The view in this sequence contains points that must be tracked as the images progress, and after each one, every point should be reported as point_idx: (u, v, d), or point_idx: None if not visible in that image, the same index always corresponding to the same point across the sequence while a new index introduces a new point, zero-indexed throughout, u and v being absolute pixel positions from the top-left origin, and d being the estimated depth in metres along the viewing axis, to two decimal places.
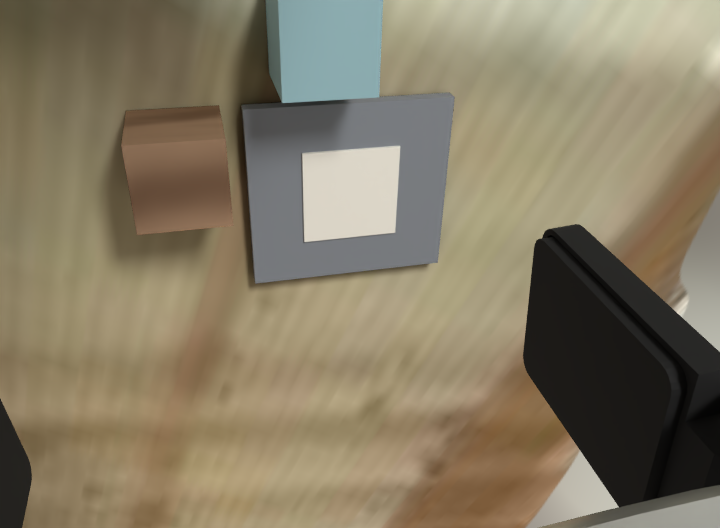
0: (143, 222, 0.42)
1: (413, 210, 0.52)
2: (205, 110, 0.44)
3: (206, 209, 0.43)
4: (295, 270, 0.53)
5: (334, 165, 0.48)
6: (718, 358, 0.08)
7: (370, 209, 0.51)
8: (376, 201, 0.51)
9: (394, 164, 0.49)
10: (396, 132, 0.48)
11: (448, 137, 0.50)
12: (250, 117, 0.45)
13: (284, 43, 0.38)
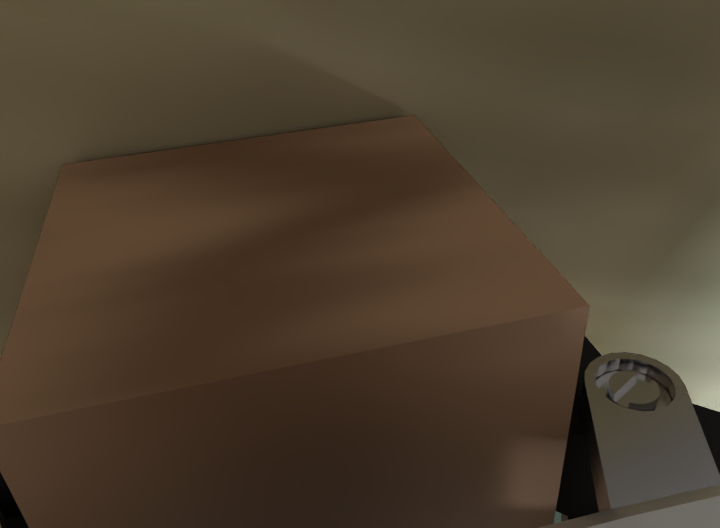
0: (91, 447, 0.06)
1: None
2: None
3: None
4: None
5: None
6: None
7: None
8: None
9: None
10: None
11: None
12: None
13: None
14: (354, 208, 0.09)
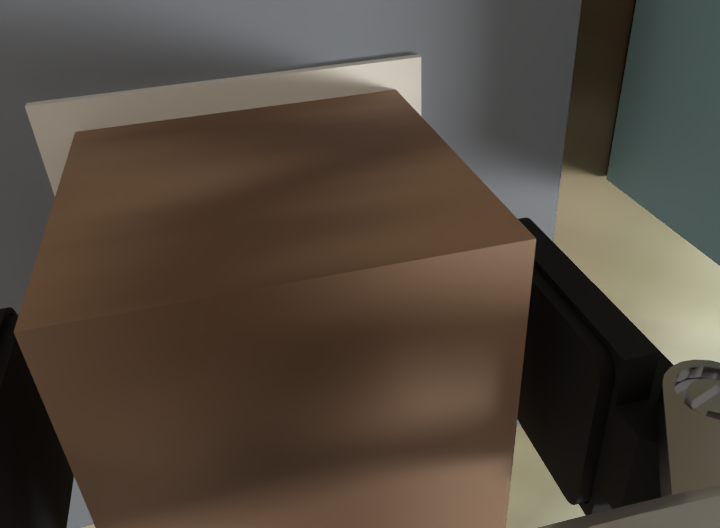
0: (106, 352, 0.08)
1: None
2: None
3: None
4: None
5: None
6: (645, 344, 0.09)
7: None
8: None
9: None
10: None
11: None
12: None
13: None
14: (337, 165, 0.10)
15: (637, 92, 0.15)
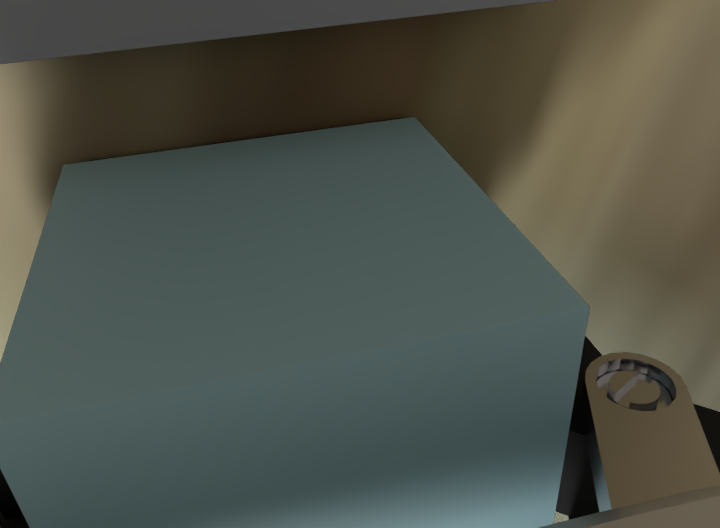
0: None
1: None
2: None
3: None
4: None
5: None
6: None
7: None
8: None
9: None
10: None
11: None
12: None
13: (535, 523, 0.09)
14: None
15: (217, 158, 0.11)
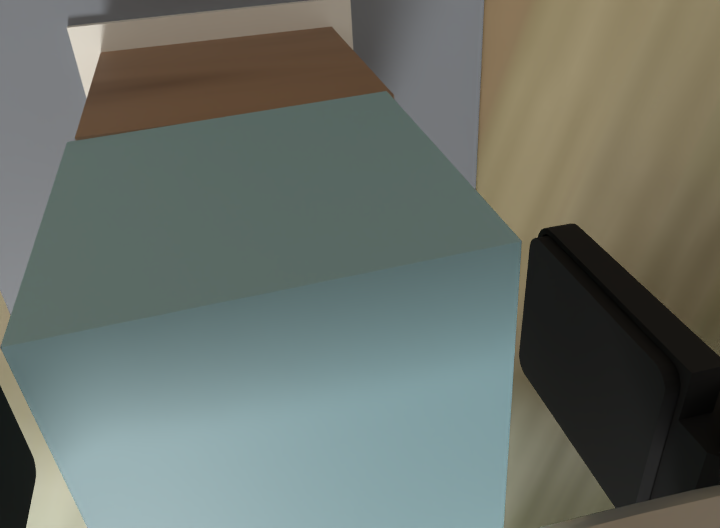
0: None
1: (29, 101, 0.17)
2: None
3: None
4: None
5: None
6: (711, 356, 0.08)
7: None
8: None
9: None
10: None
11: (9, 299, 0.20)
12: None
13: (492, 445, 0.10)
14: None
15: (205, 132, 0.12)
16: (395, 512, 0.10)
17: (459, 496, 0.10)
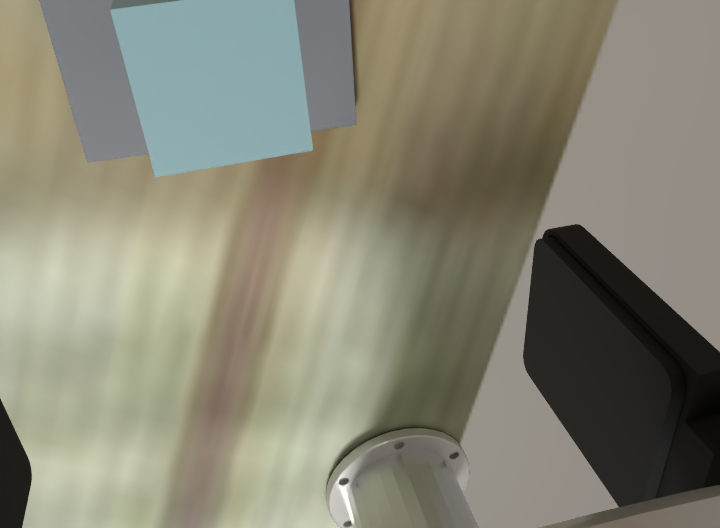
0: None
1: None
2: None
3: None
4: None
5: None
6: (718, 358, 0.08)
7: None
8: None
9: None
10: None
11: (74, 108, 0.35)
12: (347, 116, 0.39)
13: (297, 88, 0.25)
14: None
15: None
16: (259, 119, 0.25)
17: (287, 116, 0.25)
